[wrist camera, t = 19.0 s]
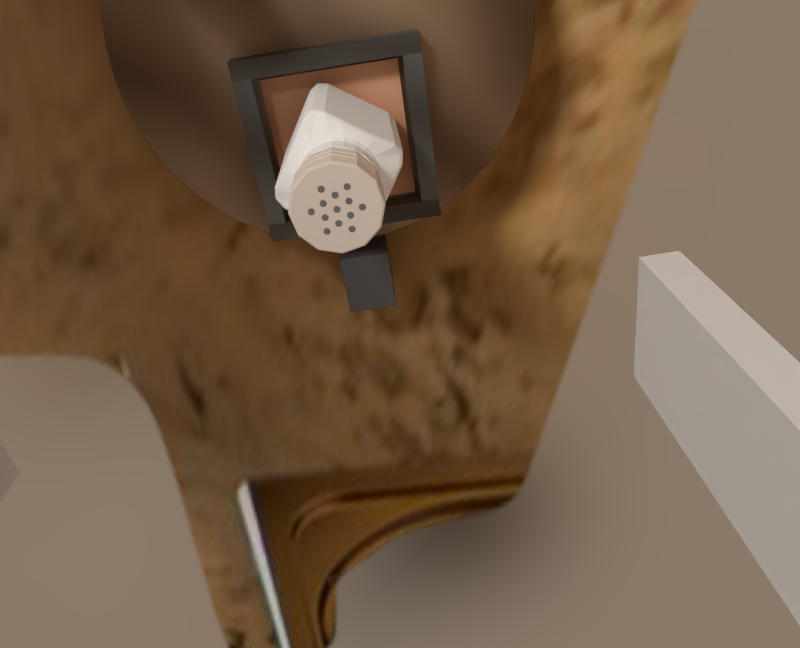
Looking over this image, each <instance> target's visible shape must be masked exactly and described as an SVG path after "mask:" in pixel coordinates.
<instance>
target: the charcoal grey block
mask: <svg viewBox="0 0 800 648" xmlns="http://www.w3.org/2000/svg"><path fill="white" fill-rule="evenodd" d="M340 263H341V268H342V273H343V277H344V282H345V287H346V292H347V297H348V302H349V307H350V311H351V312H355V311H361V310H367V309H374V308H380V307H386V306H393V305H396V300H395V293H394V285H393V278H392V272H391V266H390V260H389V254H388V248H387V242H386V236H385V234H383V235H378V236H374V237H373V238H372V239H371V240H370V241H369V242H368V243H367V244H366V245H365V246H362V247H360V248H357V249H354V250H351V251H348V252H346V253H340Z"/></svg>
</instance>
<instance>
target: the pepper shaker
mask: <svg viewBox="0 0 800 648" xmlns="http://www.w3.org/2000/svg"><path fill="white" fill-rule="evenodd" d="M402 165H403V149H402V145H401V141H400V138H399V134H398V130H397V126H396V122H395V119H394V118H393V117H392V116H391V115H390V114H389V113H388V112H387V111H385V110H383V109H381V108H378V107H376V106H374V105H372V104H370V103H368V102H366V101H364V100H362V99H360V98H357V97H355V96H353V95H351V94H349V93H347V92H345V91H343V90H341V89H339V88H336V87H334V86H332V85H330V84H326V83H317V84H316V85H315V86H314V87H313V88H312V89H311V90H310V92H309V94H308V97H307V99H306V102H305V104H304V107H303V109H302V112H301V114H300V117H299V119H298V122H297V124H296V127H295V129H294V132H293V134H292V137H291V139H290V142H289V144H288V147H287V149H286V152H285V156H284V159H283V162H282V165H281V169H280V172H279V175H278V178H277V182H276V185H275V198H276V200H277V201H278V202H279V203H280V204H281V205H282V206H283V208H284V209H286V210H288V214H289V216H290V218H291V221H292V223H293V225H294V227H295V229H296V231H297V234H298V236H300V237H301V238H303V239H304V240H305V241H307V242H308V243H309V244H311V245H312V246H314V247H315V248H316V249H318V250H322V251H329V252H336V253H346V252H348V251H351V250H354V249H357V248H360V247H362V246H365V245H366V244H367V243H368V242H369V241H370V240H371V239H372V238H373V236H374V235H375V234H376V233H377V232H378V231H379V230H380V228H381V227H382V221H383V216H384V211H385V205H386V200H387V198H388V196H389V194H390V192H391V190H392V188H393V185H394V183H395V181H396V179H397V176H398V174H399V172H400V169H401V167H402Z"/></svg>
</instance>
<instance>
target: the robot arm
mask: <svg viewBox="0 0 800 648" xmlns="http://www.w3.org/2000/svg"><path fill="white" fill-rule="evenodd" d="M637 298H638V299H637V320H636V343H635V368H634V377H635V378H636V380H637V381H638V383H639V384H640V386H641V387H642V389H643V390H644V392H645V393H646V395H647V396H648V398H649V399H650V401H651V402H652V404H653V405H654V407H655V408H656V410H657V411H658V413H659V415H660V416H661V418H662V419H663V421H664V422H665V423H666V425H667V426H668V428H669V430H670V431H671V432H672V434H673V436H674V437H675V439H676V440H677V442H678V443H679V445H680V446H681V448H682V449H683V451H684V452H685V454H686V455H687V457H688V458H689V460H690V461H691V463H692V464H693V466H694V467H695V469H696V470H697V472H698V473H699V475H700V476H701V478H702V479H703V481H704V482H705V484H706V485H707V487H708V488H709V490H710V491H711V493H712V494H713V496H714V497H715V499H716V500H717V502H718V503H719V505H720V506H721V508H722V509H723V511H724V512H725V514H726V515H727V517H728V519H729V520H730V522H731V523H732V525H733V526H734V528H735V529H736V531H737V532H738V533H739V535H740V536H741V538H742V540H743V541H744V542H745V544H746V546H747V547H748V549H749V550H750V551H751V553H752V555H753V556H754V558H755V559H756V561H757V562H758V564H759V565H760V567H761V568H762V570H763V571H764V573H765V574H766V576H767V577H768V578H769V580H770V582H771V583H772V585H773V586H774V588H775V589H776V591H777V592H778V594H779V595H780V597H781V598H782V600H783V601H784V603H785V604H786V606H787V607H788V609H789V610H790V612H791V613H792V615H793V616H794V618H795V619H796V621H797V623H798V624H799V626H800V363H799V362H798V361H797V360H796V359H795V358H794V357H793V356H792V355H791V354H790V353H788V352H787V351H786V350H785V349H784V348H783V347H782V346H781V345H780V344H779V343H778V342H777V341H776V340H775V339H773V338H772V337H771V336H770V335H769V334H768V333H767V332H766V331H765V330H764V329H763V328H761V327H760V326H759V325H758V324H757V323H756V322H755V321H754V320H753V319H752V318H751V317H750V316H749V315H748V314H747V313H745V312H744V311H743V310H742V309H741V308H740V307H739V306H738V305H737V304H736V303H735V302H734V301H733V300H731V299H730V298H729V297H728V296H727V295H726V294H725V293H724V292H723V291H722V290H721V289H720V288H718V287H717V286H716V285H715V284H714V283H713V282H712V281H711V280H710V279H709V278H708V277H707V276H706V275H705V274H703V273H702V272H701V271H700V270H699V269H698V268H697V267H696V266H695V265H694V264H693V263H692V262H691V261H689V260H688V259H687V258H686V257H685V256H684V255H683V254H682V253H681V252H680V251H676V252H670V253H664V254H657V255H651V256H644V257H639V273H638V296H637ZM18 474H19V472H18V470H17V469H16V466H15V465H14V463H13V461H12V460H11V458H10V456H9V454H8V452H7V451H6V449H5V447H4V445H3V444H2V442H1V440H0V503H1V502H2V500H3V498H4V497H5V495H6V493H7V492H8V490H9V488H10V487H11V485H12V484H13V482H14V480H15V478H16V477H17V475H18Z"/></svg>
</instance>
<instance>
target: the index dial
mask: <svg viewBox="0 0 800 648" xmlns="http://www.w3.org/2000/svg"><path fill="white" fill-rule="evenodd" d="M534 12H535V9H534V0H102V20H103V27H104V34H105V41H106V48H107V51H108V55H109V59H110V62H111V66H112V70H113V73H114V77H115V80H116V82H117V85H118V87H119V90H120V92H121V95H122V97H123V100H124V102H125V105H126V107H127V108H128V110H129V112H130V114H131V116H132V118H133V120H134V121H135V123H136V125H137V127H138V129H139V131H140V132H141V134H142V135H143V136H144V138H145V139H146V141H147V142H148V144H149V145H150V146H151V148H152V149H153V151H154V152H155V153H156V155H157V156H158V157H159V158H160V159H161V160H162V162H163V163H164V164H165V165H166V166H167V167H168V168H169V169H170V171H171V172H172V173H173V174H174V175H175V176H176V177H177V178H178V179H179V180H180V181H182V182H183V183H184V184H185V185H186V186H187V187H188V188H189V189H190V190H192V191H193V192H194V193H195V194H196V195H198V196H199V197H201V198H202V199H203V200H205V201H206V202H208V203H209V204H210V205H212V206H213V207H215V208H216V209H218V210H219V211H221V212H223V213H225V214H227V215H229V216H230V217H232V218H234V219H236V220H238V221H240V222H242V223H244V224H247V225H249V226H252V227H254V228H257V229H259V230H262V231H265V232H268V233H270V234H271V238H272V241H278V240H284V239H291V238H293V239H300V240H304V239H303V238H301V237H300V236H298V234H297V231H296V229H295V227H294V225H293V223H292V221H291V218H290V216H289V214H288V210H286V209H284V208H283V206H282V205H281V204H280V203H279V202H278V201H277V200H276V198H275V185H276V182H277V178H278V175H279V172H280V169H281V165H282V162H283V159H284V156H285V152H286V149H287V147H288V144H289V142H290V139H291V137H292V134H293V132H294V129H295V127H296V124H297V122H298V119H299V117H300V114H301V112H302V109H303V107H304V104H305V102H306V99H307V97H308V94H309V92H310V90H311V89H312V88H313V87H314V86H315V85H316V84H317V83H326V84H330V85H332V86H334V87H336V88H339V89H341V90H343V91H345V92H347V93H349V94H351V95H353V96H355V97H357V98H360V99H362V100H364V101H366V102H368V103H370V104H372V105H374V106H376V107H378V108H381V109H383V110H385V111H387V112H388V113H389V114H390V115H391V116H392V117H393V118H394V119H395V122H396V126H397V130H398V134H399V138H400V141H401V145H402V149H403V165H402V167H401V169H400V172H399V174H398V176H397V179H396V181H395V183H394V185H393V188H392V190H391V192H390V194H389V196H388V198H387V200H386V205H385V211H384V216H383V221H382V227H381V228H380V230H379V231H378V232H377V233H376V234H375V235H374V236H378V235H383V234H386V233H389V232H391V231H394V230H397V229H400V228H403V227H406V226H408V225H410V224H412V223H414V222H416V221H418V220H420V219H422V218H424V217H431V216H437V215H441V212H440V207H441V206H443V205H444V204H446V203H447V202H449V201H450V200H451V199H452V198H453V197H454V196H456V195H457V194H458V193H459V192H460V191H461V190H463V189H464V188H465V187H466V186H467V185H468V184H469V183H470V182H471V181H472V180H473V179H474V178H475V176H476V175H477V174H478V173H479V172H480V171H481V170H482V169H483V168H484V167H485V165H486V164H487V162H488V161H489V160H490V158H491V157H492V155H493V154H494V152H495V151H496V150H497V148H498V147H499V145H500V144H501V142H502V140H503V138H504V136H505V134H506V133H507V131H508V129H509V127H510V125H511V123H512V121H513V119H514V116H515V114H516V111H517V109H518V106H519V104H520V101H521V99H522V96H523V92H524V89H525V85H526V81H527V77H528V74H529V70H530V64H531V57H532V50H533V43H534ZM374 236H373V237H374Z"/></svg>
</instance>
